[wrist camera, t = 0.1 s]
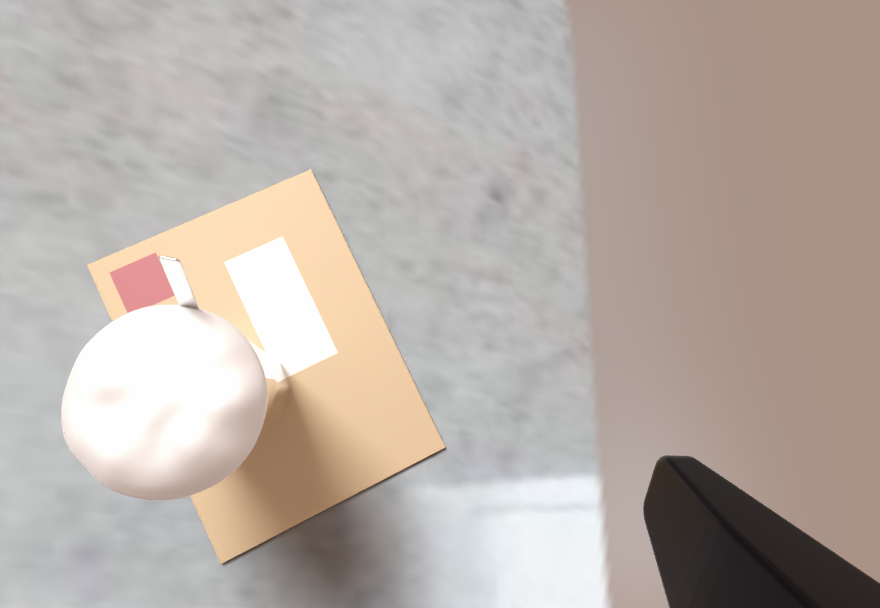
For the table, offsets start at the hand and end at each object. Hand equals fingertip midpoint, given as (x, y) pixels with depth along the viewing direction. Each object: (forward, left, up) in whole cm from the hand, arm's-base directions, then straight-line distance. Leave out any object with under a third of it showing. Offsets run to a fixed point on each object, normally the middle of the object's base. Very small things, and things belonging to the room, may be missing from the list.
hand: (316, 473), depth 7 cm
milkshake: (+3, +3, -15) cm, 15 cm away
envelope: (+3, +2, -15) cm, 15 cm away
